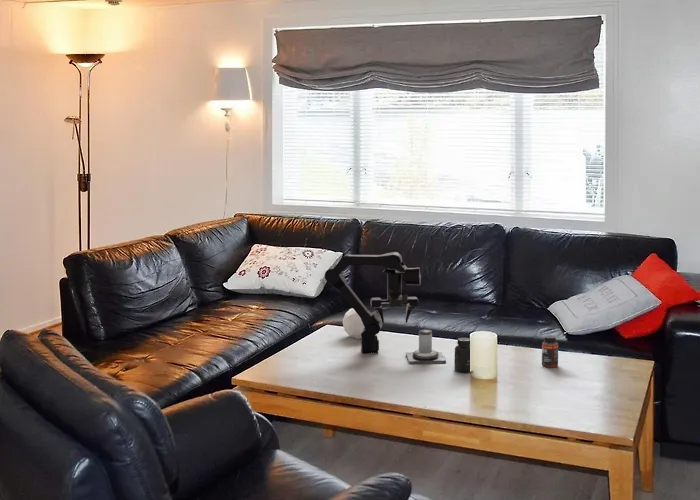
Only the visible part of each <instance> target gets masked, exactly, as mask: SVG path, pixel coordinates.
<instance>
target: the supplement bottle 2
mask: <svg viewBox="0 0 700 500" xmlns="http://www.w3.org/2000/svg"><path fill="white" fill-rule="evenodd" d="M541 365H542V366H543V367H545V368H547V369H548V368H549V369H550V368H556V367H558V366H559V343H558V342H557V340H556V336H555V335H548V334H547V335H545V336H544V341H543V342H542V343H541Z"/></svg>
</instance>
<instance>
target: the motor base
mask: <svg viewBox="0 0 700 500" xmlns="http://www.w3.org/2000/svg"><path fill="white" fill-rule="evenodd" d="M405 357H406V359H407V361H408V362H407V363H408V364H409V365H418V364H419V365H421V364H422V365H423V364H425V365H426V364H447V360H446V358H445V355H444V354H443V352H442V351H437V350H435V349H434V348H432V352H431V353H420V352H419V348H417V349H415V350H414V351H413V352H411V351H410V352H409V351H408V352H405Z"/></svg>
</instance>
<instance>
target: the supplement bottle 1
mask: <svg viewBox="0 0 700 500" xmlns="http://www.w3.org/2000/svg"><path fill="white" fill-rule="evenodd" d="M470 339H471V338H468V337H459V338H457V342H456V343H457V345H456V346H455V347H454V367H453V368H454V369H453V370H454V371H455V372H457V373H459V374H460V373H461V374H467V373H471V372H470V346H471V345H470Z"/></svg>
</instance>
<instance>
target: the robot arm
mask: <svg viewBox="0 0 700 500" xmlns="http://www.w3.org/2000/svg"><path fill="white" fill-rule="evenodd" d="M349 266H377V267H378V266H379V267H383V268H385V269H384V270H382V274H383V275H386V278H387V279H386V281H387V282H386V283H387V284H386V289H387V290H386V294H387V296H386V297H387V299H381V297H371V298H370V306H371V308H373V309H374V312H371V311H370V310H369V309H368V308H367V307H366V305H365V304H364V303H363V302H362V300H361V299H360V298H359V297H358V295H357V294H356V293H355V292H354V290H353V289H352V288H351V287H350V285H349V284H348V282H347V280H346V278H345V275H344V273H343V271H345V270H346V268H348V267H349ZM421 277H422V275H421V268H420V267H407V265H406V263H405V262H404V261H403V257H402V254H400V253H399V252H397V251H392V252H386V253H384V254H350V253H348V254H345V255H344V256H343V257H342V258H341V260H340V261H339V262H338V263H337V264H335V265H332V266H330V267H329V268H328V269H327V270H326V271H325V273H324V279H325V281H326V282H327V283H328V284H329V285H330V286H331V287H333V288H335V289H336V290H338V291H339V292H340V294H341V295H342V297H343V298H344V299H345V300H346V302H347V303H349V305H350V306H351V309H352V308H353V309H354V310H355V311H356V313H357V314H358V315H359V316H360V318H361V320H362V323H363V325H364V327H365V328H364V329H363V331H362V333H361V338H360V339H361V340H360V341H361V346H360V347H361V348H360V351H361V354H364V355H365V354H367V355H368V354H378V353H379V351H380V340H379V338H378V334H379V333H380V331H381V329H382V327H383V324H384V323H385V319H384V313H383V312H384V311H383V307H382V305H389V306H390V308H395V307H396V308H397V307H398V308H401V307H403V305H406V307H405V308H406V309H405V317H404V318H405V324H407V323H408V320H409V319H410V314H411V312H412V311H413V309H416V307H419V305H420V301H419V299H418V297H417V296H408V293H402V292H403V291H402V290H403V285H402V284H403V283H404V284H405V285H406V286H421V284H422V283H421V281H422V280H421V279H422V278H421ZM402 282H403V283H402ZM376 310H377V311H376ZM377 312H378V313H377Z"/></svg>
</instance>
